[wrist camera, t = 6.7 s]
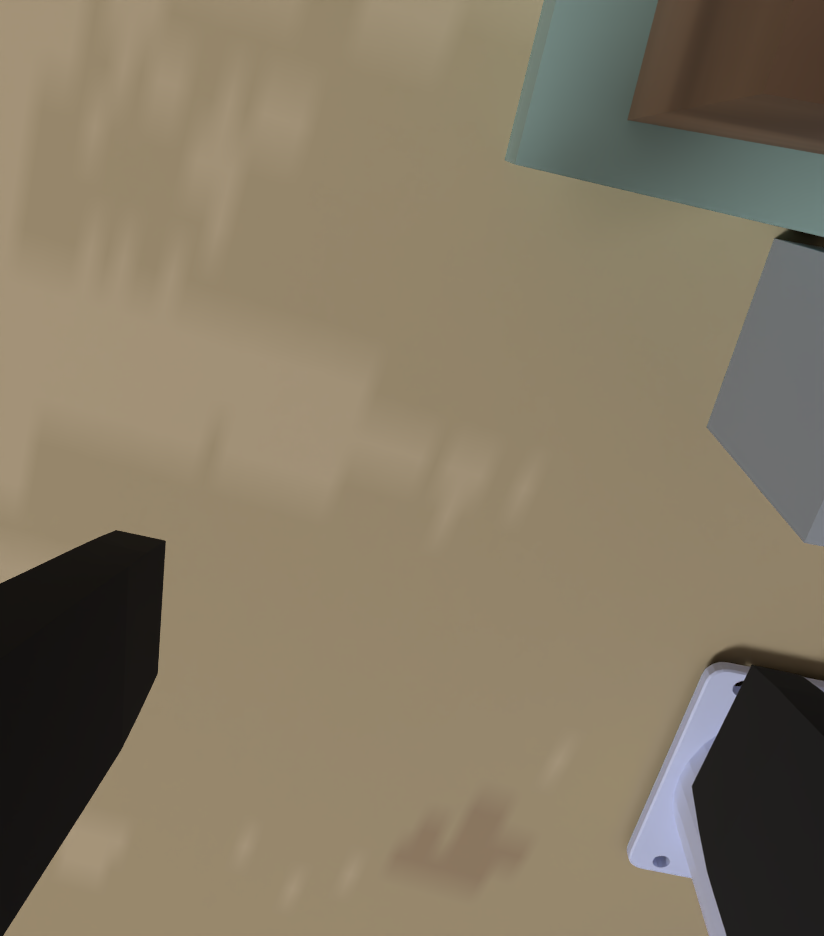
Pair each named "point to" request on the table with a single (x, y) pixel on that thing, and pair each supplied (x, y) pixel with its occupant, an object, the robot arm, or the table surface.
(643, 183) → the base block
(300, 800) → the table surface
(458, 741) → the table surface
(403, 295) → the table surface
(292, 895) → the table surface
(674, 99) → the walnut block
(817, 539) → the grey block
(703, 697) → the robot arm
